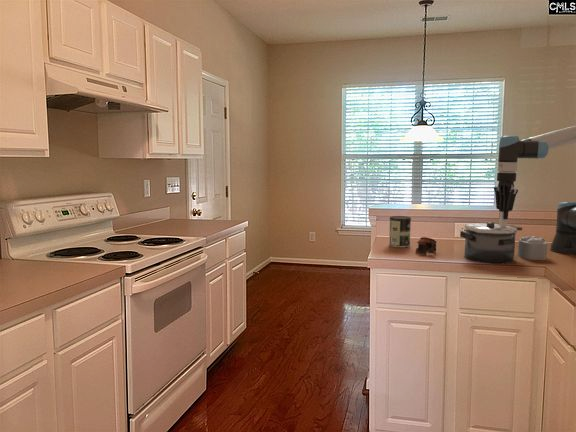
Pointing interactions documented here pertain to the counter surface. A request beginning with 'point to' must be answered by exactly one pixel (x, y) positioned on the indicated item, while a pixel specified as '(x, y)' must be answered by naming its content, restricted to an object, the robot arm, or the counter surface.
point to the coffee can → (399, 231)
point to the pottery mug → (426, 245)
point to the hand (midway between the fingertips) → (502, 226)
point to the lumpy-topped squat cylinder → (532, 248)
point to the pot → (489, 247)
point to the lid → (492, 228)
